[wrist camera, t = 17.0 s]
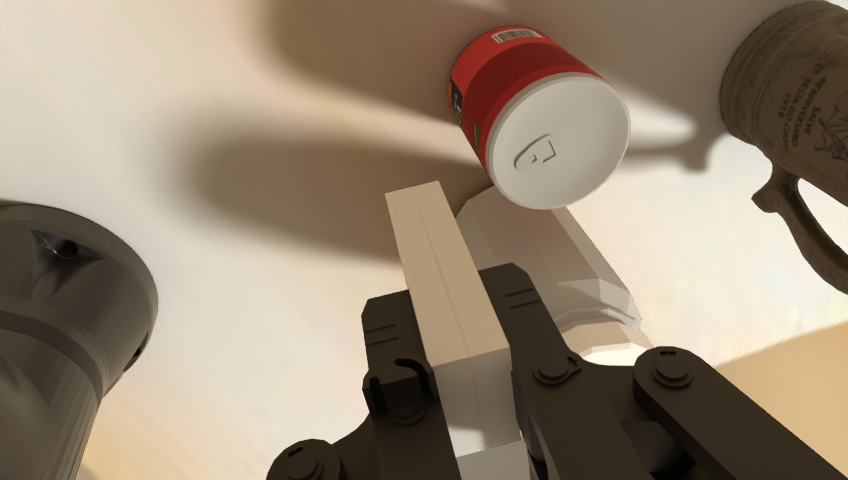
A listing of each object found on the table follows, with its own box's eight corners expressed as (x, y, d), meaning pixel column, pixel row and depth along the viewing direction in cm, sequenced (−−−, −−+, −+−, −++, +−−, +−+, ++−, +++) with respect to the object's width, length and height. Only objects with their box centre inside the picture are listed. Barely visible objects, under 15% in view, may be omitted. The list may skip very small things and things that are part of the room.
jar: (430, 195, 45) (498, 369, 30) (555, 157, 45) (684, 311, 30) (457, 292, 50) (525, 479, 35) (568, 258, 50) (682, 430, 36)
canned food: (421, 86, 40) (458, 156, 31) (511, -6, 38) (579, 41, 29) (493, 155, 44) (545, 236, 35) (579, 75, 42) (658, 139, 33)
